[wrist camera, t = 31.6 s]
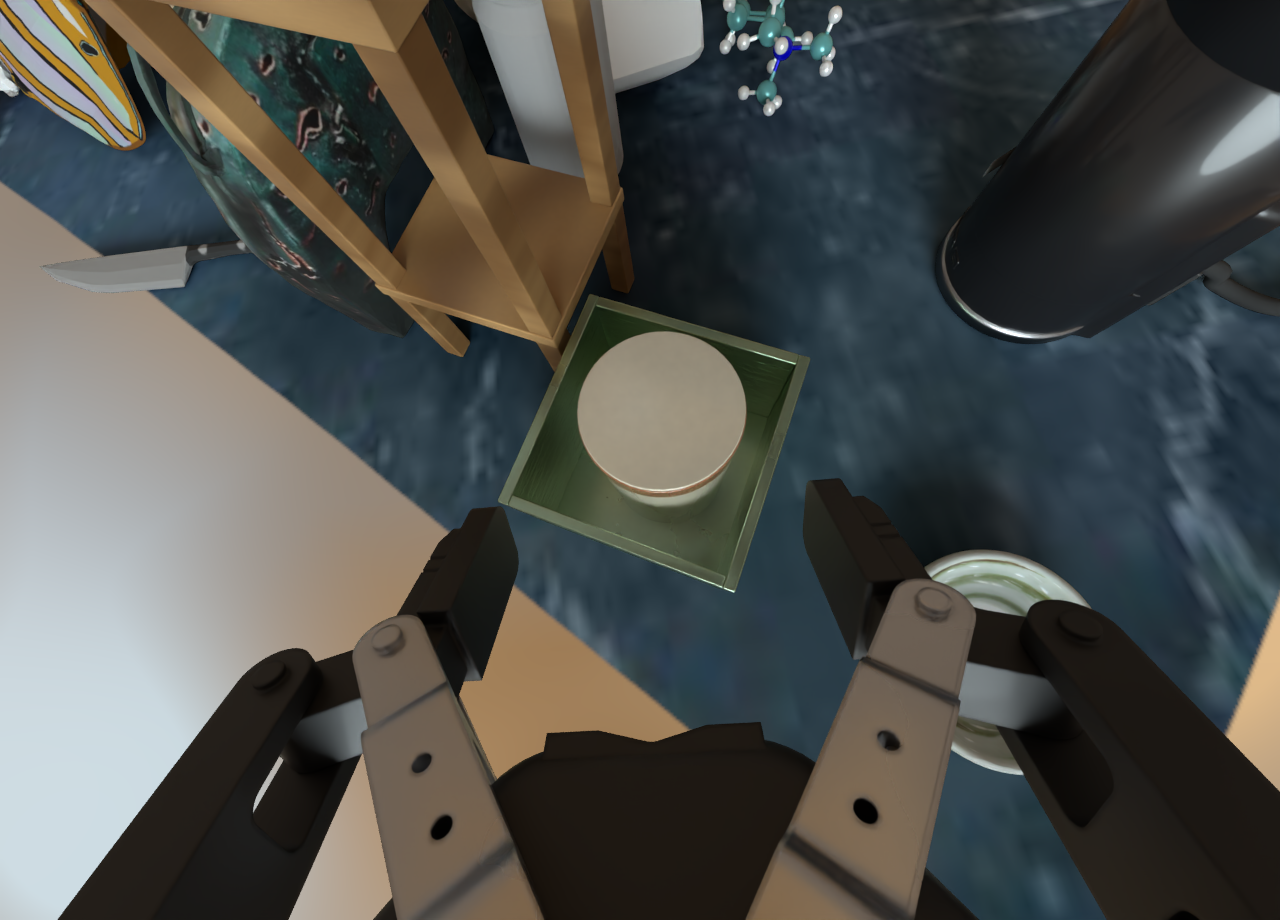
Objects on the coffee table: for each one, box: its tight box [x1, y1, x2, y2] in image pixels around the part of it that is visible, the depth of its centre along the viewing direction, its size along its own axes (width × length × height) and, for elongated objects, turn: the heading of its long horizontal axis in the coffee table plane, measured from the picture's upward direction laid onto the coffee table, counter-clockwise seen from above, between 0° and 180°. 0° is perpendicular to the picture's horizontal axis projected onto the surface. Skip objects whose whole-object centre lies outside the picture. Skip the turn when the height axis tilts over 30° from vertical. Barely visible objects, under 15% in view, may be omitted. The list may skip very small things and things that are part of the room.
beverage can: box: [472, 0, 623, 178], centre depth 28 cm, size 6×6×12 cm
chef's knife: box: [40, 240, 252, 293], centre depth 34 cm, size 19×1×3 cm
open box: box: [498, 294, 810, 592], centre depth 24 cm, size 10×10×8 cm
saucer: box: [924, 550, 1091, 775], centre depth 23 cm, size 10×10×2 cm
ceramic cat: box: [127, 0, 494, 338], centre depth 23 cm, size 20×6×20 cm, turn 164°
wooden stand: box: [84, 0, 634, 372], centre depth 20 cm, size 10×9×22 cm
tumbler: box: [577, 331, 747, 523], centre depth 22 cm, size 6×6×10 cm
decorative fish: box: [0, 0, 146, 150], centre depth 33 cm, size 20×12×15 cm
